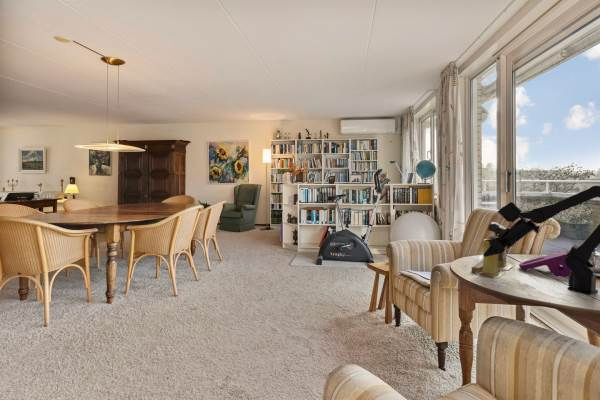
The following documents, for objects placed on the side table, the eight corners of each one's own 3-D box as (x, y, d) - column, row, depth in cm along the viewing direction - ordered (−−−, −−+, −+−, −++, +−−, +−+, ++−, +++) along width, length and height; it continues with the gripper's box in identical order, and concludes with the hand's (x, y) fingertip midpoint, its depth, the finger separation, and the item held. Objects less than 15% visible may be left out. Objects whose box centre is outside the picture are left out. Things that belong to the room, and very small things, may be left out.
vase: (498, 276, 133) (499, 242, 132) (481, 274, 136) (482, 240, 135) (498, 272, 138) (499, 239, 137) (482, 270, 141) (482, 238, 140)
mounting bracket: (527, 285, 139) (577, 274, 128) (517, 267, 141) (566, 254, 130) (529, 280, 146) (577, 268, 135) (520, 262, 148) (566, 249, 137)
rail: (513, 266, 147) (513, 246, 146) (497, 279, 130) (497, 256, 129) (487, 262, 155) (487, 243, 154) (469, 274, 138) (469, 252, 137)
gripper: (507, 213, 139) (479, 236, 147) (494, 218, 126) (464, 243, 135) (529, 233, 134) (498, 256, 142) (518, 240, 121) (485, 264, 129)
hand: (486, 254), depth 137 cm, fingers open, 6 cm apart
